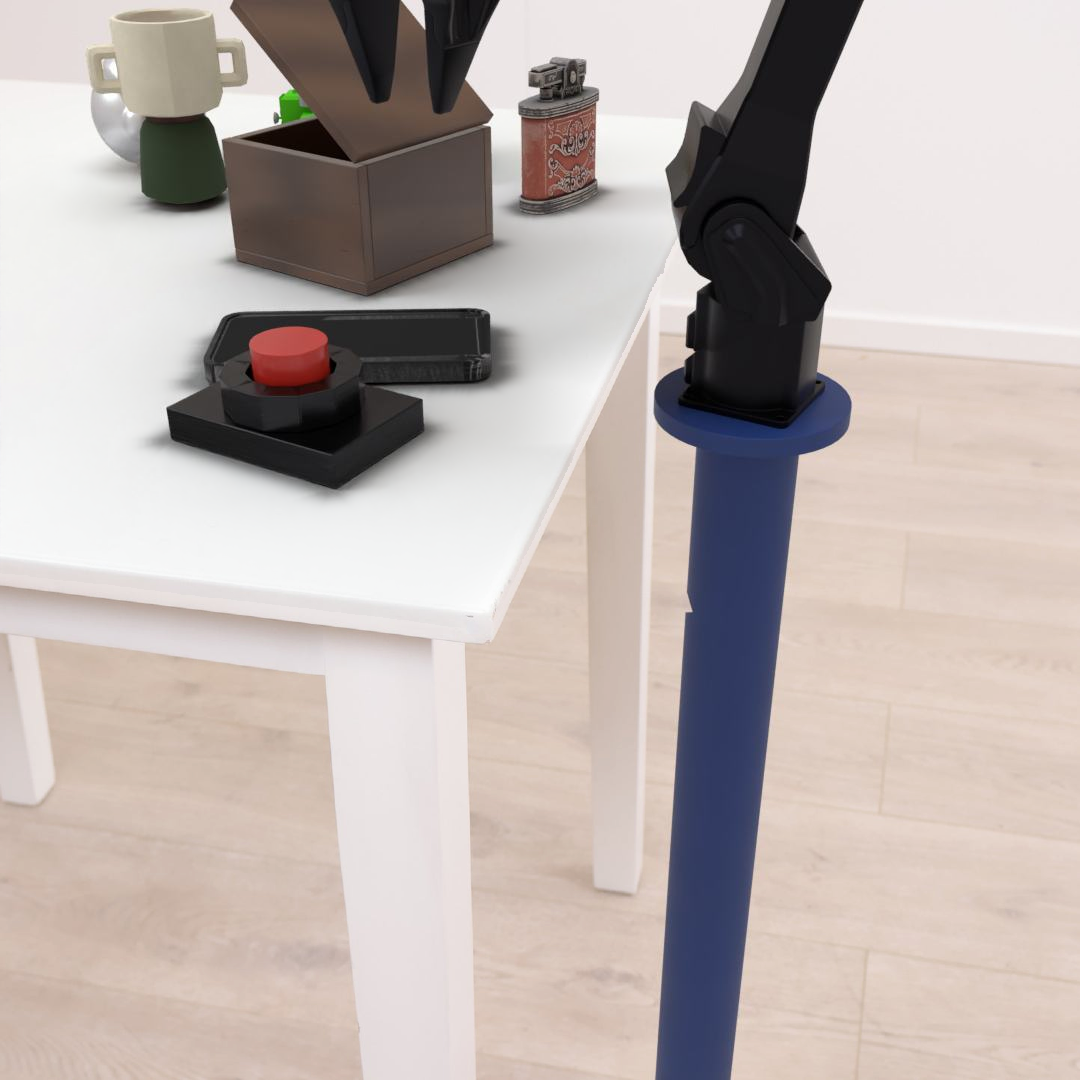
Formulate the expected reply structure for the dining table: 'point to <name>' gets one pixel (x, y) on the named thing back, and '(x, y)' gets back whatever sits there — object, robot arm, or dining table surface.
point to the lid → (355, 78)
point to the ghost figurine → (116, 120)
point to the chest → (357, 204)
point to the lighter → (558, 137)
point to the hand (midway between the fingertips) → (411, 107)
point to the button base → (299, 420)
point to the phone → (375, 340)
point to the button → (289, 356)
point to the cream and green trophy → (171, 95)
